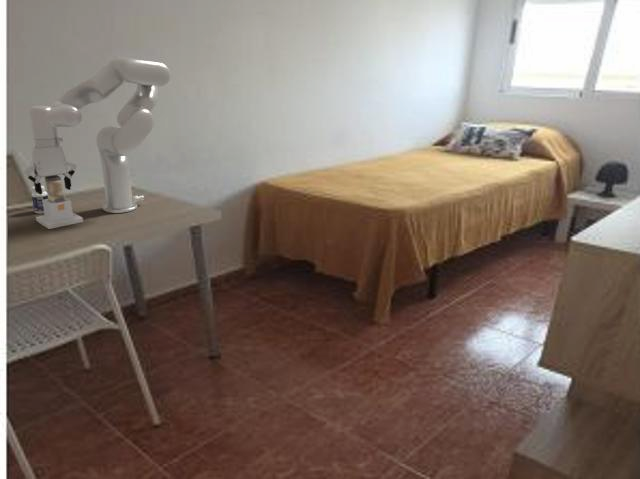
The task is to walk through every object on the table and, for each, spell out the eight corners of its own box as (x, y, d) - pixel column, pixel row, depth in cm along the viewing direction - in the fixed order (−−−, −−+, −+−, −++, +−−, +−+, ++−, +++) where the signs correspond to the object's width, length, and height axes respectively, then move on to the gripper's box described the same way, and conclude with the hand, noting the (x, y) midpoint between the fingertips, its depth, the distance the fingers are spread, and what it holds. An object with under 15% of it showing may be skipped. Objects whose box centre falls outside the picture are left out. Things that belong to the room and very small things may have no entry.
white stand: (70, 214, 201) (66, 191, 198) (83, 221, 193) (79, 197, 190) (36, 220, 193) (32, 197, 190) (48, 229, 185) (44, 204, 182)
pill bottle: (38, 214, 200) (34, 189, 197) (31, 211, 203) (27, 187, 200) (53, 211, 204) (48, 186, 201) (45, 208, 207) (41, 184, 204)
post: (62, 213, 195) (56, 174, 190) (66, 216, 193) (60, 177, 187) (51, 215, 193) (44, 176, 187) (55, 218, 190) (48, 178, 185)
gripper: (68, 138, 191) (74, 185, 197) (15, 144, 180) (24, 193, 186) (76, 141, 187) (83, 189, 192) (23, 147, 175) (31, 197, 181)
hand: (54, 191), depth 189 cm, fingers open, 9 cm apart
